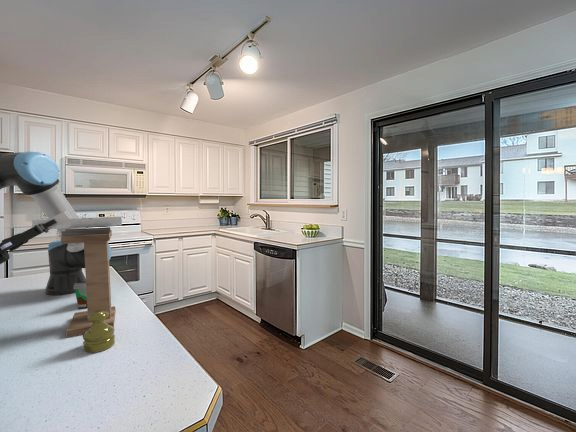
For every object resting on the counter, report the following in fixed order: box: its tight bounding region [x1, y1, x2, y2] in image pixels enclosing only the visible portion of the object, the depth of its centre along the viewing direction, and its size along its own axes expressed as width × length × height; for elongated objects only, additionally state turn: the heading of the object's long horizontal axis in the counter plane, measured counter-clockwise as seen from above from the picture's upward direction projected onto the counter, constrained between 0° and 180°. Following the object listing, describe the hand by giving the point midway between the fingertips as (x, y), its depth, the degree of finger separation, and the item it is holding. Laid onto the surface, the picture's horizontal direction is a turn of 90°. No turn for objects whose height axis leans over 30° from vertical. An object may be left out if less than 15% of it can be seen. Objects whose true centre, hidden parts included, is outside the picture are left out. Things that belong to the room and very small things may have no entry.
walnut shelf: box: [60, 226, 116, 339], centre depth 95 cm, size 16×12×32 cm
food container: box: [73, 282, 87, 310], centre depth 113 cm, size 12×6×10 cm, turn 168°
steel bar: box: [31, 216, 123, 230], centre depth 97 cm, size 3×24×3 cm, turn 119°
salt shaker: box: [82, 310, 116, 354], centre depth 81 cm, size 7×7×10 cm
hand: (67, 214), depth 95 cm, fingers closed on steel bar, 3 cm apart
